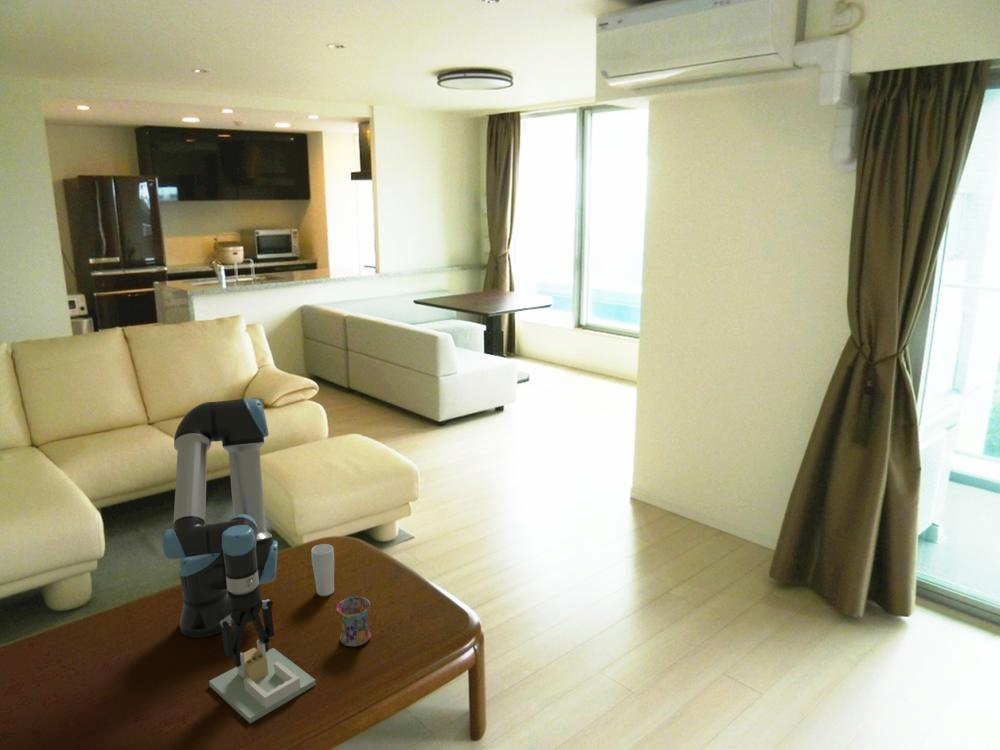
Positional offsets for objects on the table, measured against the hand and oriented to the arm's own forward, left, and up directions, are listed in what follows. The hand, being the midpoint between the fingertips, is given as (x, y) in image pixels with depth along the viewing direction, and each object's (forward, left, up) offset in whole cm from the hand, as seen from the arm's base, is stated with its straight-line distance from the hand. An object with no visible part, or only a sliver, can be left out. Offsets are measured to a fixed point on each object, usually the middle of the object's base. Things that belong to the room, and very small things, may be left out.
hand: (252, 669), depth 179 cm
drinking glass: (-21, +36, -3) cm, 42 cm away
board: (+4, 0, -3) cm, 5 cm away
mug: (+5, +28, -3) cm, 29 cm away
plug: (0, 0, -1) cm, 1 cm away
